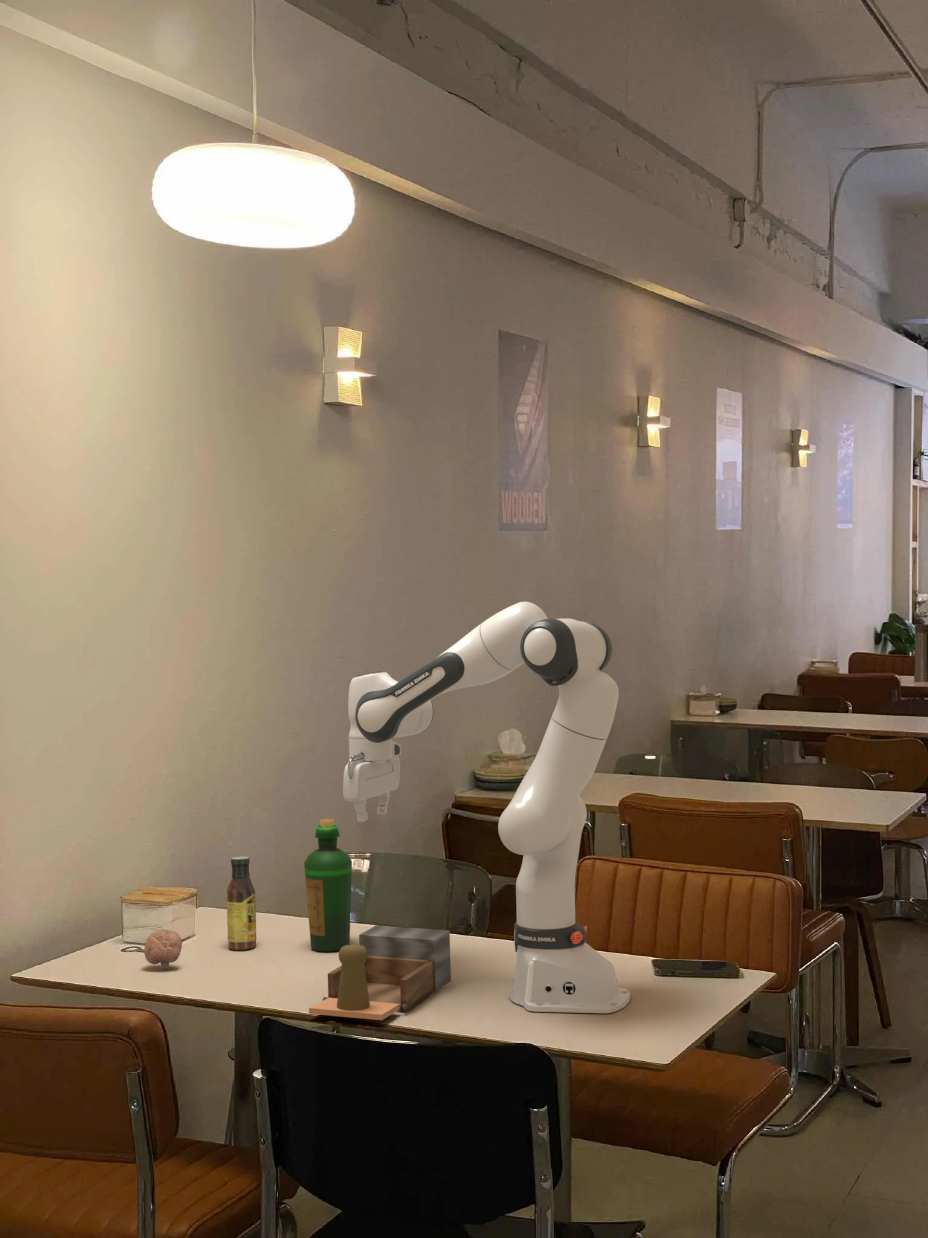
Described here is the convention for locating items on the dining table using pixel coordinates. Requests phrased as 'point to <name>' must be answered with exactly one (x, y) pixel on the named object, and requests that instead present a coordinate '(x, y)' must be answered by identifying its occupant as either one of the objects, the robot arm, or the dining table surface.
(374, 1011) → the wooden board
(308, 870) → the bottle
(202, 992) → the dining table surface
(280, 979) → the dining table surface
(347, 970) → the cork
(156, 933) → the brown rounded lump
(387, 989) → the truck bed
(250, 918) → the sauce bottle
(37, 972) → the dining table surface
